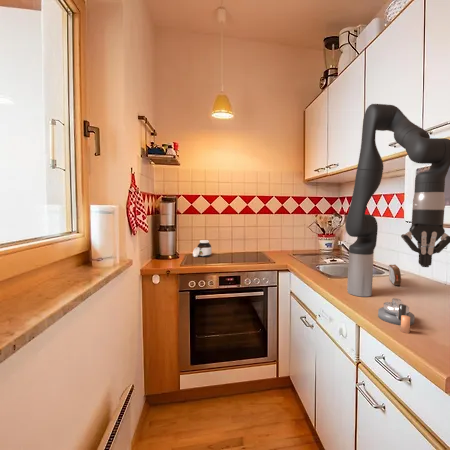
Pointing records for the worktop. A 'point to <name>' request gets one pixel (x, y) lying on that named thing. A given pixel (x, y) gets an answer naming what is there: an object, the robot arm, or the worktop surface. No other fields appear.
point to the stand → (404, 322)
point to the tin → (394, 275)
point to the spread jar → (203, 249)
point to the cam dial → (396, 308)
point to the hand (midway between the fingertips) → (424, 266)
